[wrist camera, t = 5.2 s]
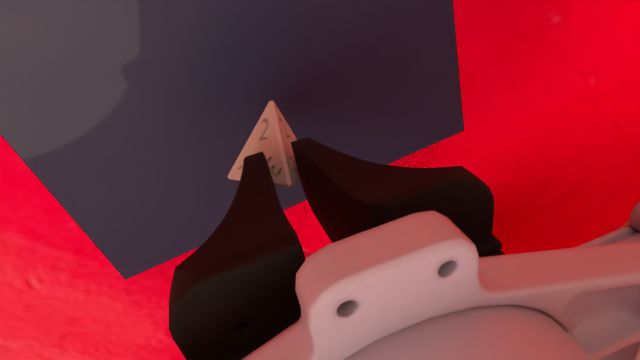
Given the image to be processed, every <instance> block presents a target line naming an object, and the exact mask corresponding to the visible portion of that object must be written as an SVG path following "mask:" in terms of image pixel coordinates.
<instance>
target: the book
mask: <svg viewBox="0 0 640 360" xmlns="http://www.w3.org/2000/svg"><path fill="white" fill-rule="evenodd" d="M269 101H274V103H275V104H276V106H277V107H278V109H279V111H280V112H281V114H282V116H283V117H284V119H285V121H286V122H287V124H288V125H289V127H290V129H291V130H292V132H293V134H294V135H295V137H296V139H297V140H299V139H303V138H306V137H308V138H311V139H313V140H315V141H317V142H319V143H321V144H323V145H326V146H328V147H330V148H332V149H335V150H337V151H339V152H342V153H344V154H347V155H350V156H353V157H356V158H359V159H362V160H366V161H370V162H375V163H379V164H384V165H387V164H389V163H391V162H394V161H396V160H398V159H401V158H403V157H405V156H407V155H410V154H412V153H414V152H416V151H419V150H421V149H423V148H426V147H428V146H430V145H432V144H435V143H437V142H439V141H442V140H444V139H446V138H448V137H451V136H453V135H455V134H457V133H460V132H462V131H464V123H463V112H462V101H461V90H460V78H459V67H458V56H457V44H456V33H455V22H454V11H453V0H0V135H1V136H2V137H3V138H4V139H5V140H6V141H7V143H8V144H9V145H10V146H11V147H12V148H13V150H14V151H15V152H16V153H17V154H18V155H19V157H20V158H21V159H22V160H23V161H24V162H25V164H26V165H27V166H28V167H29V168H30V169H31V171H32V172H33V173H34V174H35V175H36V176H37V177H38V179H39V180H40V181H41V182H42V183H43V184H44V186H45V187H46V188H47V189H48V190H49V191H50V193H51V194H52V195H53V196H54V197H55V198H56V200H57V201H58V202H59V203H60V204H61V205H62V207H63V208H64V209H65V210H66V211H67V212H68V213H69V215H70V216H71V217H72V218H73V219H74V220H75V222H76V223H77V224H78V225H79V226H80V227H81V229H82V230H83V231H84V232H85V233H86V234H87V236H88V237H89V238H90V239H91V240H92V241H93V243H94V244H95V245H96V246H97V247H98V248H99V249H100V251H101V252H102V253H103V254H104V255H105V256H106V258H107V259H108V260H109V261H110V262H111V263H112V265H113V266H114V267H115V268H116V269H117V270H118V272H119V273H120V274H121V275H122V276H123V277H124V279H127V278H130V277H132V276H134V275H137V274H139V273H141V272H143V271H146V270H148V269H150V268H152V267H155V266H157V265H159V264H162V263H164V262H166V261H168V260H171V259H173V258H175V257H178V256H180V255H182V254H184V253H187V252H189V251H191V250H193V249H196V248H198V247H200V246H201V245H202V244H203V243H204V242H205V241H206V240H207V239H208V238H209V237H210V236H211V235H212V233H213V232H214V231H215V230H216V228H217V227H218V225H219V224H220V223H221V221H222V220H223V218H224V217H225V215H226V213H227V212H228V210H229V208H230V206H231V203H232V201H233V199H234V196H235V194H236V191H237V188H238V185H239V182H240V180H233V179H229V178H228V177H227V176H228V174H229V173H230V171H231V169H232V167H233V165H234V164H235V162H236V160H237V158H238V157H239V155H240V153H241V151H242V149H243V148H244V146H245V144H246V142H247V140H248V139H249V137H250V135H251V133H252V131H253V130H254V128H255V126H256V124H257V123H258V121H259V119H260V117H261V115H262V114H263V112H264V110H265V108H266V106H267V105H268V103H269ZM275 189H276V192H277V195H278V199H279V202H280V205H281V208H282V210H284V209H287V208H289V207H291V206H294V205H296V204H298V203H300V202H303V201H305V200H307V198H306V196H305V193H304V191H303V188H302V184H301V180H299V181H297V182H296V183H295V184H294V185H292V186H291V187H290V188H289V187H282V186H275Z"/></svg>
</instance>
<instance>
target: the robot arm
mask: <svg viewBox="0 0 640 360" xmlns="http://www.w3.org/2000/svg"><path fill="white" fill-rule="evenodd" d="M291 146H292V149H293V153H294V157H295V161H296V165H297V169H298V172H299V175H300V180H301V184H302V188H303V191H304V193H305V196H306V198H307V200H308V203H309V205H310V207H311V209H312V211H313V213H314V214H315V216H316V218H317V219H318V221H319V222H320V224H321V226H322V227H323V229H324V230H325V232H326V234H327V235H328V237H329V238H330V240H331V241H332V243H331V244H328V245H326V246H325V247H323V248H321V249H320V250H318V251H317V252H315V253H313V254H312V255H310V256H308V257H307V259H306V260H305V256H304V253H303V249H302V246H301V244H300V241H299V239H298V237H297V234H296V232H295V230H294V229H293V228H292V226H291V224H290V223H289V221H288V219H287V217H286V216H285V214H284V212H283V210H282V208H281V205H280V202H279V199H278V195H277V192H276V189H275V185H274V182H273V179H272V176H271V172H270V169H269V166H268V162H267V159H266V157H265V155H264V153H263V151H262V152H259V153H255V154H252V155H249V156H246V157H245V158H244V160H243V169H242V174H241V178H240V182H239V185H238V188H237V191H236V194H235V196H234V199H233V201H232V203H231V206H230V208H229V210H228V212H227V213H226V215H225V217H224V218H223V220H222V221H221V223H220V224H219V225H218V227H217V228H216V230H215V231H214V232H213V233H212V235H211V236H210V237H209V238H208V239H207V240H206V241H205V242H204V243H203V244H202V245H201V246H200V247H199V248H198V249H197V250H196V251H195V252H194V253H193V254H192V255H190V256H189V257H188V258H187V259H186V260H184V261H183V262H182V263H181V264H179V265H178V266H177V267H176V268H175V271H174V275H173V280H172V285H171V291H170V298H169V330H170V332H171V335H172V338H173V340H174V341H175V343H176V344H177V346H178V347H179V349H180V351H181V352H182V354H183V355H184V357H185V358H186V360H640V201H639V202H638V203H637V204H636V205H635V206H634V208H633V210H632V212H631V215H630V219H629V225H628V226H625V227H623V228H620V229H618V230H616V231H613V232H611V233H608V234H606V235H603V236H601V237H599V238H596V239H594V240H591V241H589V242H586V243H584V244H582V245H579V246H577V247H574V248H566V249H556V250H547V251H537V252H527V253H517V254H507V255H505V254H504V253H503V252H502V251H501V250H500V249H502V244H501V242H500V241H499V240H498V239H497V238H496V237H495V236H494V235H492V229H493V215H494V199H493V194H492V192H491V190H490V188H489V187H488V186H487V185H486V184H485V183H484V182H483V181H481V180H480V179H479V178H477V177H476V176H475V175H473V174H472V173H471V172H469V171H468V170H467V169H465V168H464V167H462V166H456V167H441V168H411V167H400V166H391V165H384V164H379V163H375V162H370V161H366V160H362V159H359V158H356V157H353V156H350V155H347V154H344V153H342V152H339V151H337V150H335V149H332V148H330V147H328V146H326V145H323V144H321V143H319V142H317V141H315V140H313V139H311V138H308V137H306V138H303V139H299V140H296V141H293V142H291Z"/></svg>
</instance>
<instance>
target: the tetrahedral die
mask: <svg viewBox="0 0 640 360" xmlns="http://www.w3.org/2000/svg"><path fill="white" fill-rule="evenodd" d="M296 140H297V139H296V137H295V135H294V134H293V132H292V130H291V129H290V127H289V125H288V124H287V122H286V121H285V119H284V117H283V116H282V114H281V112H280V111H279V109H278V107H277V106H276V104H275V103H274V101H269V103H268V105H267V106H266V108H265V110H264V112H263V114H262V115H261V117H260V119H259V121H258V123H257V124H256V126H255V128H254V130H253V131H252V133H251V135H250V137H249V139H248V140H247V142H246V144H245V146H244V148H243V149H242V151H241V153H240V155H239V157H238V158H237V160H236V162H235V164H234V165H233V167H232V169H231V171H230V173H229V174H228V176H227V177H228V178H229V179H233V180H240V178H241V174H242V169H243V160H244V158H245V157H246V156H249V155H252V154H255V153H259V152H262V151H263V153H264V155H265V157H266V159H267V162H268V166H269V169H270V172H271V176H272V179H273V182H274V185H275V186H282V187H289V188H290V187H291V186H292V185H294V184H295V183H296V182H297V181H299V180H300V175H299V172H298V169H297V165H296V161H295V157H294V153H293V149H292V146H291V142H293V141H296Z"/></svg>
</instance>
